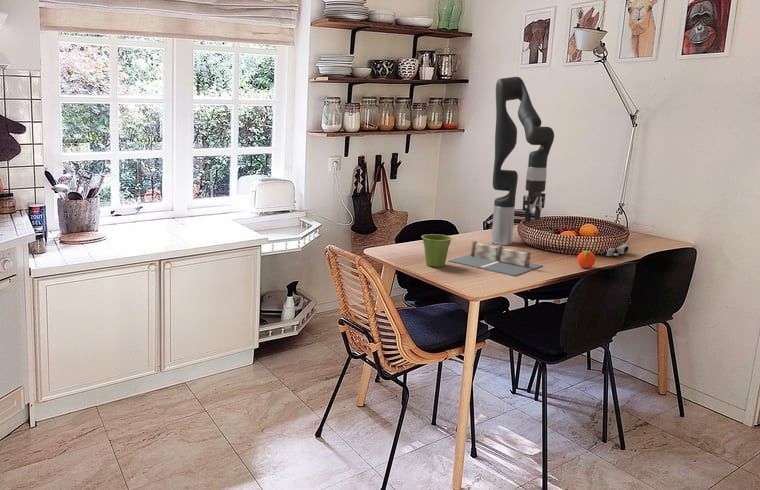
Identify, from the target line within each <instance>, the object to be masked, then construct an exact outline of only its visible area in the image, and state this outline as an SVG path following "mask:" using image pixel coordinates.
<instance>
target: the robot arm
mask: <svg viewBox="0 0 760 490" xmlns="http://www.w3.org/2000/svg"><path fill="white" fill-rule="evenodd" d="M514 100H519V101H520V103H519V105H518V110H517V118H518V119H519V122H520V123H521V126H523V129H524V134H525V140H526V142H527V143H528V144H529V145H532V146H539V147H538V149H536V150H533V151H530V152H529V155H528V164H527V171H526V176H525V177H526V178H525V186H524V187H525V191H527V193H528V194H527V195H523V199H522V212H525V215H524V216H525V217H524V222H526V223H530V222H532V211H533V209H534V217H533V219H534V220H536V221H538V220H541V212H542V210H543V209H544V208H545V204H546V193H544V192H545V191H546V184H547V168H548V167H547V166H548V158H549V155H550V152H551V149H552V146H553V143H554V140H555V132H554V130H553V128H552V127H550V126H541V125H542V120H541V117H540V116H539V114H538V112H537V111H536V109H535V107H534V105H533V104H532V100H531V97H530V95H529V92H528V89H527V87H526V83H525V82H524V80H523V79H522V77H519V76H511V77H504V78H503V77H502V78H499V79H497V81H496V84H495V110H496V111H495V114H496V115H495V116H496V117H495V130H494V131H495V132H494V134H495V135H494V163H493V174H492V187H493V189H494V190H496V191H503V192H504V191H505V192H508V193H507V194H505V195H503V196H499V197H497V198H495V199H494V202H493V203H494V204H493V216H492V226H491V227H492V228H491V229H492V230H491V244H493V243H494V244H495V245H498V246H509V245H512V244H513V237H514V227H515V225H514V224H515V222H514V221H515V209H516V208H515V207H516V197H517V196H516V194H517V188H518V187H517V186H518V181H519V173H518V171H516V170H508V169H502V166H503V164H504V162H505V161H506V159H507V158H508V156H509V155H510V154H511V153H512V152H513V150H514V149H515V147H516V146H517V143H518V142H517V140H518V128H517V125H516V124H515V122H514V121H513V118H511V116H510V114H509V112H508V111H507V102H508V101H514Z"/></svg>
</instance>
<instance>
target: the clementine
mask: <svg viewBox="0 0 760 490" xmlns="http://www.w3.org/2000/svg"><path fill="white" fill-rule="evenodd" d="M576 259H577V260H576V261H577V264H578V265H579V266H580V267H581V268H584V269H589V268H591V267H593V266H594V265H595V263H596V261H597V260H596V255H595V253H593V251H590V250H588V249H587V250H582V251H581V252H580V253H579V254H578V255H577V258H576Z"/></svg>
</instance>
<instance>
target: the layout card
mask: <svg viewBox="0 0 760 490" xmlns="http://www.w3.org/2000/svg"><path fill="white" fill-rule="evenodd" d="M448 262H449V263H455V264H458V265H462V266H468V267H472V268H476V269H481V270H484V271H490V272H495V273H499V274H503V275H508V276H510V277H511V276H512V277H517V276H520V275H523V274H526V273H528V272H530V271H534V270H536V269H539V268H542V267H543V265H542V264H537V263H533V262H530V263H529V267H525V266H521V265H517V264H512V263H507V262H502V261H492V260H487V259H483V258H478V257H472V256H471V253H470V254H467V255H462V256H458V257H456V258H451V259H449V260H448Z"/></svg>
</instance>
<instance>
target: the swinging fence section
mask: <svg viewBox="0 0 760 490" xmlns="http://www.w3.org/2000/svg"><path fill="white" fill-rule="evenodd" d="M497 247H498V250H497V261H502V262H507V263H512V264H517V265H521V266H525V267H529V263H531V262H530V260H531V252H530V251H526V252H522V251H517V250H512V249H509V248H507V249H506V248H504V247H503V245H498V246H497Z"/></svg>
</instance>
